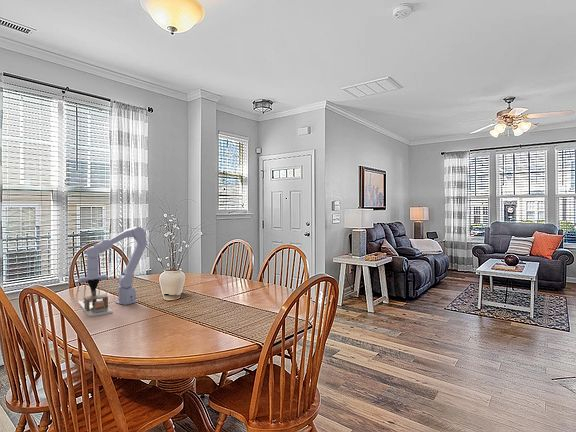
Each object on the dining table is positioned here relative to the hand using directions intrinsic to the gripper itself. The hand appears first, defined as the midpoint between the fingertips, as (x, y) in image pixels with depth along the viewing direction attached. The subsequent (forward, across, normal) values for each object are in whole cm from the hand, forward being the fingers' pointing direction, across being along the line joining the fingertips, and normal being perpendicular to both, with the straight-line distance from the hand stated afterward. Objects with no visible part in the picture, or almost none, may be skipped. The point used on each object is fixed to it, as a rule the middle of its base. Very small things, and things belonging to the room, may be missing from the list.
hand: (93, 293), depth 199 cm
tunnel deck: (+7, 0, +2) cm, 8 cm away
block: (+6, 0, +15) cm, 16 cm away
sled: (+6, 0, +9) cm, 11 cm away
